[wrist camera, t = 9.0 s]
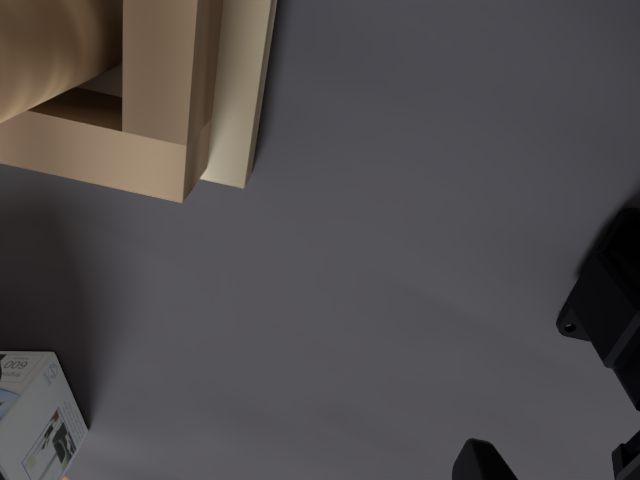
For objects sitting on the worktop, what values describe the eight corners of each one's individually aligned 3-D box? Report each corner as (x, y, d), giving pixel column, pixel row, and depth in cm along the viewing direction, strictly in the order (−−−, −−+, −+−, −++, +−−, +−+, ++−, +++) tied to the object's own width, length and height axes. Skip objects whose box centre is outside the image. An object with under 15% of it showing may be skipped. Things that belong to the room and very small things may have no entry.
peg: (139, 80, 18) (-6, 166, 11) (36, 57, 18) (-177, 129, 11) (141, -35, 16) (-30, -19, 9) (27, -61, 16) (-238, -67, 9)
